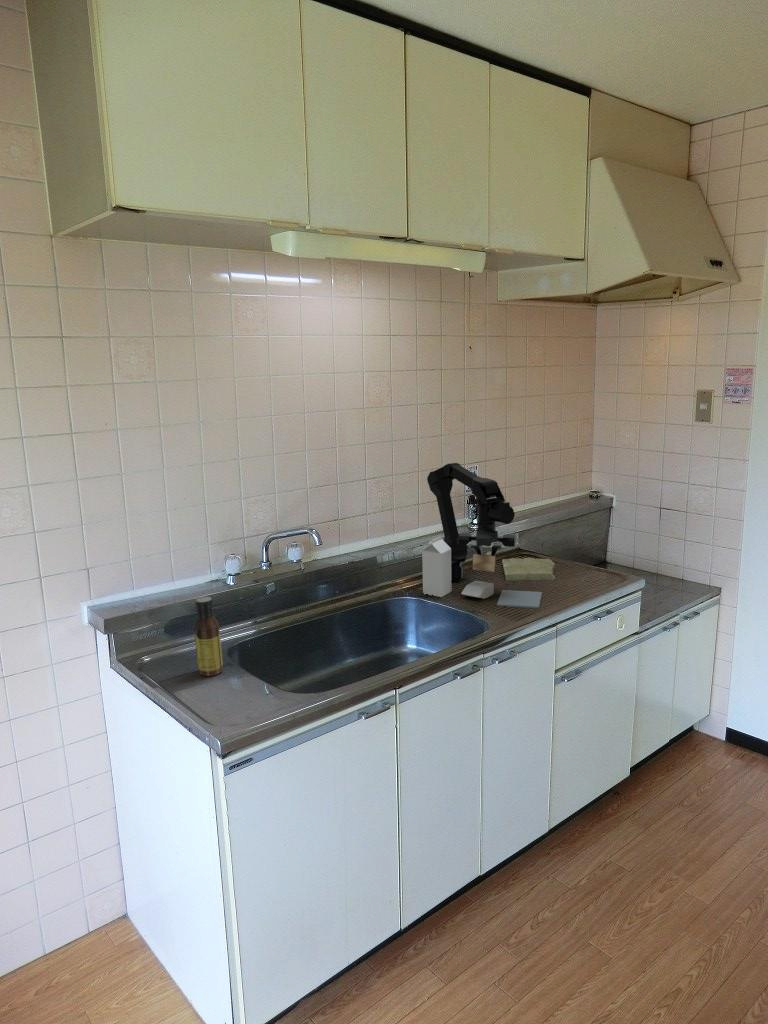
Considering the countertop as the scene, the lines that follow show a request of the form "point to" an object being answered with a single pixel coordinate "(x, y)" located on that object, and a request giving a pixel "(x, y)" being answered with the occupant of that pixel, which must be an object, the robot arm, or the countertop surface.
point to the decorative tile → (528, 569)
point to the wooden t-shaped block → (484, 562)
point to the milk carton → (437, 568)
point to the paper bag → (479, 589)
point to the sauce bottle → (207, 639)
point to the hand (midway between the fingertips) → (486, 565)
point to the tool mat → (520, 599)
